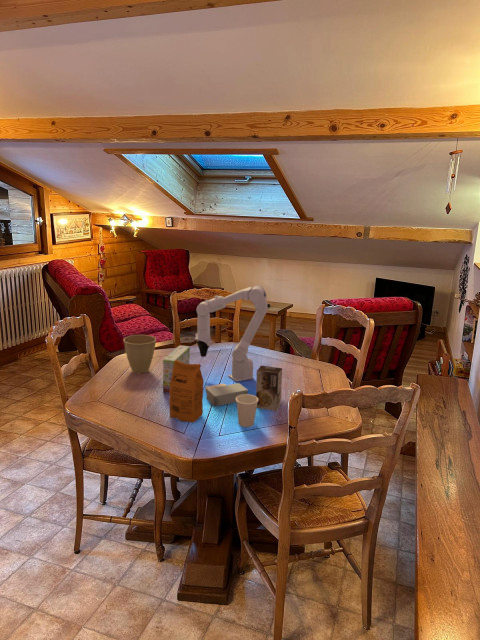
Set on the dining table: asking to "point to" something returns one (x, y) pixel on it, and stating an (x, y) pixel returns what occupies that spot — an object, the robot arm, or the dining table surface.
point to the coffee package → (186, 392)
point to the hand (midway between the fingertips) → (203, 356)
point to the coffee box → (268, 387)
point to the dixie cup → (246, 409)
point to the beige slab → (225, 394)
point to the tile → (214, 386)
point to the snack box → (178, 354)
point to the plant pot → (140, 352)
